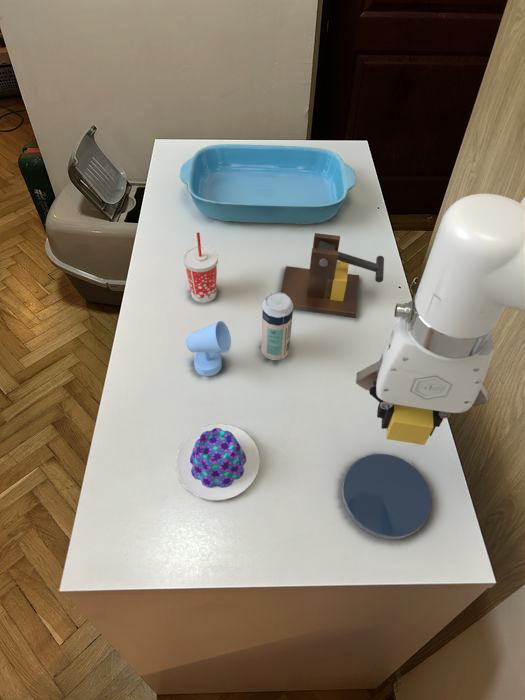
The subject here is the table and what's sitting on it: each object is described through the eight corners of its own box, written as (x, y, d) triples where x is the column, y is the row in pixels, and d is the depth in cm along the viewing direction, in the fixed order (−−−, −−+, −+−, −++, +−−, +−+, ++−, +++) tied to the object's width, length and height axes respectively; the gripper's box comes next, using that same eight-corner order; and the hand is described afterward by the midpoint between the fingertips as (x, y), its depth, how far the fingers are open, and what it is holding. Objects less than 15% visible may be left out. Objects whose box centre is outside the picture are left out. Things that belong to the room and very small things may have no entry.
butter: (344, 282, 99) (348, 262, 95) (343, 301, 96) (346, 281, 92) (326, 280, 99) (329, 259, 95) (323, 298, 96) (326, 278, 92)
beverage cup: (227, 290, 99) (224, 230, 88) (206, 310, 95) (201, 250, 84) (201, 277, 101) (195, 217, 90) (180, 296, 97) (171, 236, 86)
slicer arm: (380, 264, 94) (386, 254, 92) (380, 285, 91) (385, 276, 89) (316, 244, 93) (321, 234, 91) (313, 265, 90) (317, 255, 88)
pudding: (232, 518, 72) (230, 502, 67) (159, 477, 75) (154, 460, 71) (274, 448, 78) (275, 430, 74) (206, 414, 82) (203, 395, 78)
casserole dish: (346, 173, 123) (351, 144, 118) (356, 234, 109) (362, 205, 104) (188, 169, 123) (185, 140, 118) (177, 230, 109) (173, 201, 104)
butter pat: (423, 406, 66) (432, 388, 63) (424, 445, 63) (433, 428, 59) (387, 401, 66) (394, 382, 63) (386, 439, 63) (393, 421, 60)
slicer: (358, 279, 101) (369, 230, 92) (355, 317, 95) (366, 268, 86) (285, 270, 102) (289, 220, 93) (278, 307, 96) (280, 258, 87)
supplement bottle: (282, 336, 92) (286, 287, 82) (293, 357, 89) (298, 308, 80) (257, 344, 91) (257, 294, 81) (267, 365, 88) (269, 316, 78)
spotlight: (233, 356, 89) (193, 351, 89) (232, 315, 81) (187, 311, 82) (229, 379, 86) (187, 375, 86) (227, 340, 78) (181, 335, 78)
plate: (427, 464, 77) (429, 460, 76) (430, 546, 70) (432, 543, 69) (345, 451, 78) (346, 447, 77) (338, 531, 71) (340, 528, 70)
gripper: (357, 338, 49) (333, 437, 63) (549, 365, 47) (479, 461, 61) (362, 282, 53) (338, 386, 67) (536, 305, 52) (474, 406, 66)
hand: (406, 421), depth 64 cm, fingers closed on butter pat, 4 cm apart
